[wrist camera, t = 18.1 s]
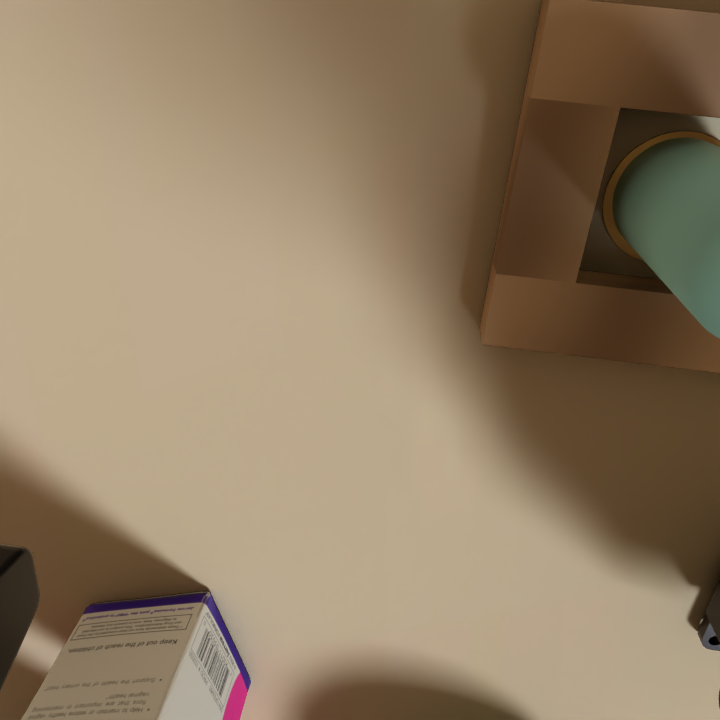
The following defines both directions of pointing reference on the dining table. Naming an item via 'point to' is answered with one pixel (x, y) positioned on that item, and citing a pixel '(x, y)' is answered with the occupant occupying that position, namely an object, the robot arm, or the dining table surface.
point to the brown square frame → (595, 183)
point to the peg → (676, 220)
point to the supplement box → (146, 664)
